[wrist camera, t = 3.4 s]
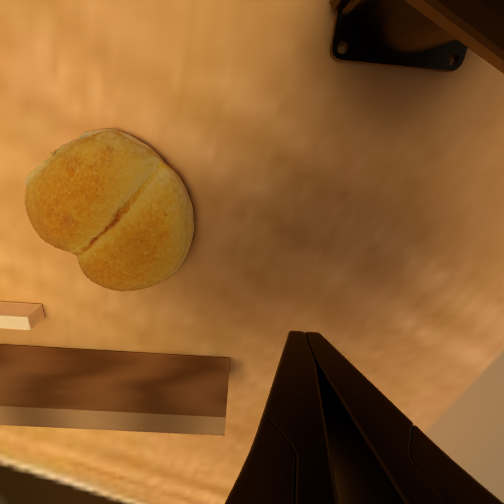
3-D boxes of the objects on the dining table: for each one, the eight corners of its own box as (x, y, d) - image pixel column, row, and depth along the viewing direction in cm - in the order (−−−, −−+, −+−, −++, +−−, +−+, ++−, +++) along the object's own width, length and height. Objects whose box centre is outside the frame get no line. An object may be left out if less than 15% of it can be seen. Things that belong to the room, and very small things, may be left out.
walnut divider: (230, 358, 23) (225, 417, 19) (229, 374, 24) (224, 435, 19) (-79, 339, 22) (-164, 397, 18) (-71, 357, 23) (-151, 417, 18)
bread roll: (134, 296, 21) (110, 334, 18) (23, 193, 18) (-33, 213, 15) (227, 226, 19) (222, 252, 16) (120, 99, 16) (84, 94, 13)
